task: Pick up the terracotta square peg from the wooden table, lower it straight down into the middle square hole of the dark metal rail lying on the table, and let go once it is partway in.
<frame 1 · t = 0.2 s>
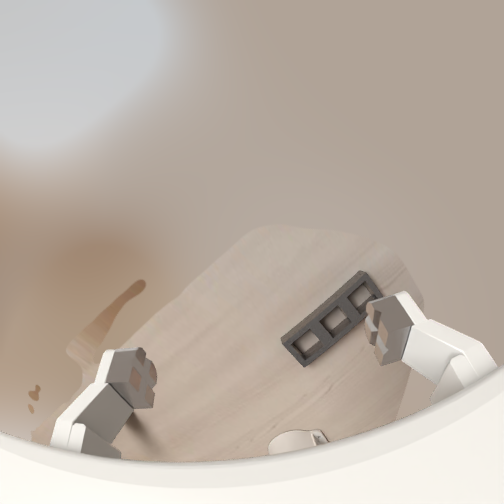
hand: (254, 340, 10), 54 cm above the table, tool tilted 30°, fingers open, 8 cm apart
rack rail: (331, 317, 64), on the table
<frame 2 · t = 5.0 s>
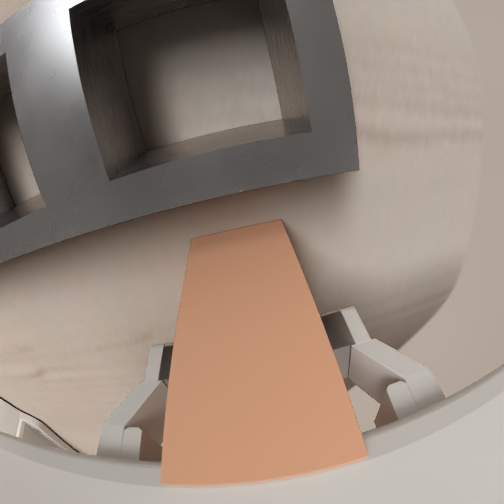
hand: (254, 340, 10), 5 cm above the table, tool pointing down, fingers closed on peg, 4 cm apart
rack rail: (31, 136, 9), on the table
peg: (245, 266, 14), on the table, touching gripper
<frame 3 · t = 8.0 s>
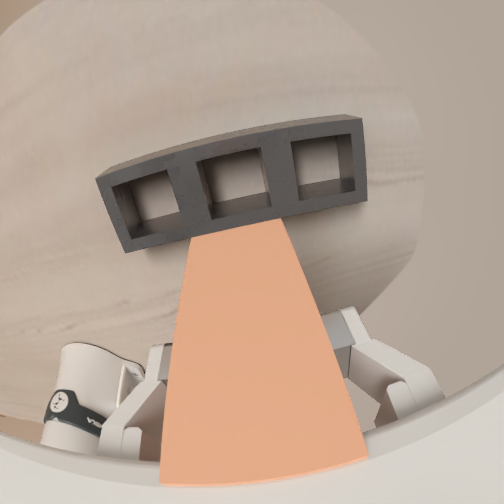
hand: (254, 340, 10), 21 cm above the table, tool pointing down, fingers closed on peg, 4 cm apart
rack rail: (233, 172, 27), on the table
peg: (245, 265, 13), point 16 cm above the table, touching gripper
when the fingers open (6 cm above the table, at t = 10.9 s): peg drops 1 cm, resting in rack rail.
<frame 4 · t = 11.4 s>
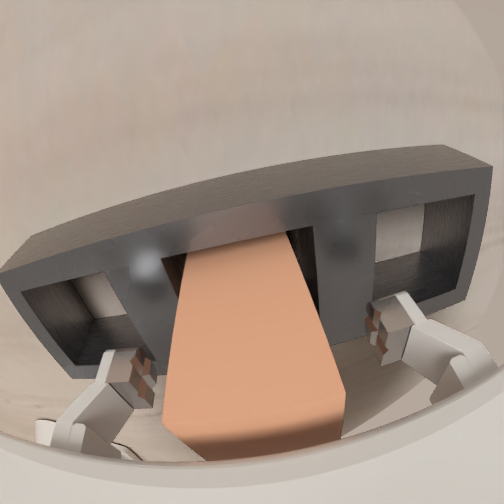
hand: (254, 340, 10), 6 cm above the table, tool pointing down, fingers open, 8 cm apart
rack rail: (244, 250, 15), on the table
peg: (242, 249, 15), resting in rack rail
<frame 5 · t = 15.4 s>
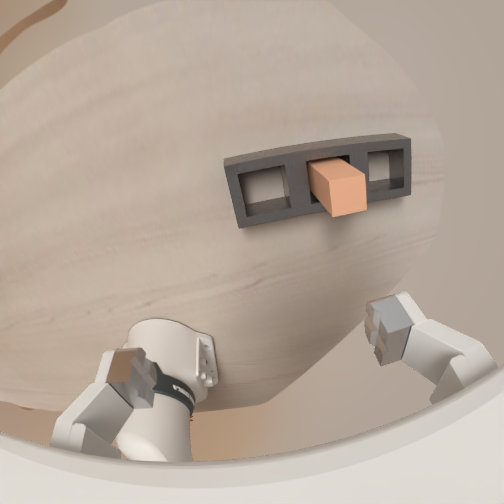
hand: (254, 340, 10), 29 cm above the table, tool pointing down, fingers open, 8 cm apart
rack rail: (320, 170, 36), on the table
peg: (319, 170, 36), resting in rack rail
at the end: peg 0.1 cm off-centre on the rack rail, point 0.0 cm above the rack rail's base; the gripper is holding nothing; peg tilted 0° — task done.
